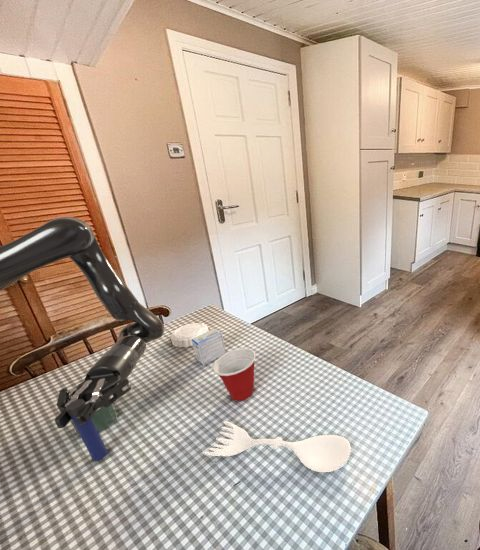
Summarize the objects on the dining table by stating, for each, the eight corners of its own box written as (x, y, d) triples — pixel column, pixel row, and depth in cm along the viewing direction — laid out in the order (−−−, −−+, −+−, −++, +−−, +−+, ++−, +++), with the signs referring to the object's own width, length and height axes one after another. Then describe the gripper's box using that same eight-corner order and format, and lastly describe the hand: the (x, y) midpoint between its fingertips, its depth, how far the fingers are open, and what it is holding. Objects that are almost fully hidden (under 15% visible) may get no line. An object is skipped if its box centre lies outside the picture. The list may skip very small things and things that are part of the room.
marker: (89, 462, 66) (62, 410, 60) (96, 451, 68) (71, 400, 63) (104, 460, 66) (78, 408, 61) (110, 448, 69) (87, 398, 63)
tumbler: (68, 440, 72) (57, 418, 69) (88, 414, 79) (79, 394, 76) (107, 433, 73) (97, 412, 71) (123, 409, 81) (115, 388, 78)
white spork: (226, 428, 75) (223, 418, 73) (354, 442, 71) (353, 431, 70) (203, 463, 66) (200, 452, 65) (347, 480, 63) (346, 469, 61)
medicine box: (219, 349, 105) (214, 327, 102) (226, 353, 102) (222, 332, 99) (196, 361, 99) (190, 338, 96) (203, 366, 96) (197, 343, 93)
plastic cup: (221, 387, 88) (212, 353, 83) (260, 376, 92) (254, 343, 87) (220, 414, 79) (211, 377, 74) (263, 401, 83) (257, 366, 78)
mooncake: (194, 326, 118) (192, 319, 117) (216, 333, 114) (214, 325, 113) (164, 343, 108) (162, 334, 107) (188, 351, 104) (185, 342, 102)
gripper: (75, 359, 72) (17, 416, 57) (142, 350, 75) (103, 402, 60) (87, 383, 75) (34, 444, 60) (150, 374, 78) (116, 429, 63)
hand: (69, 423), depth 60 cm, fingers closed on marker, 3 cm apart
